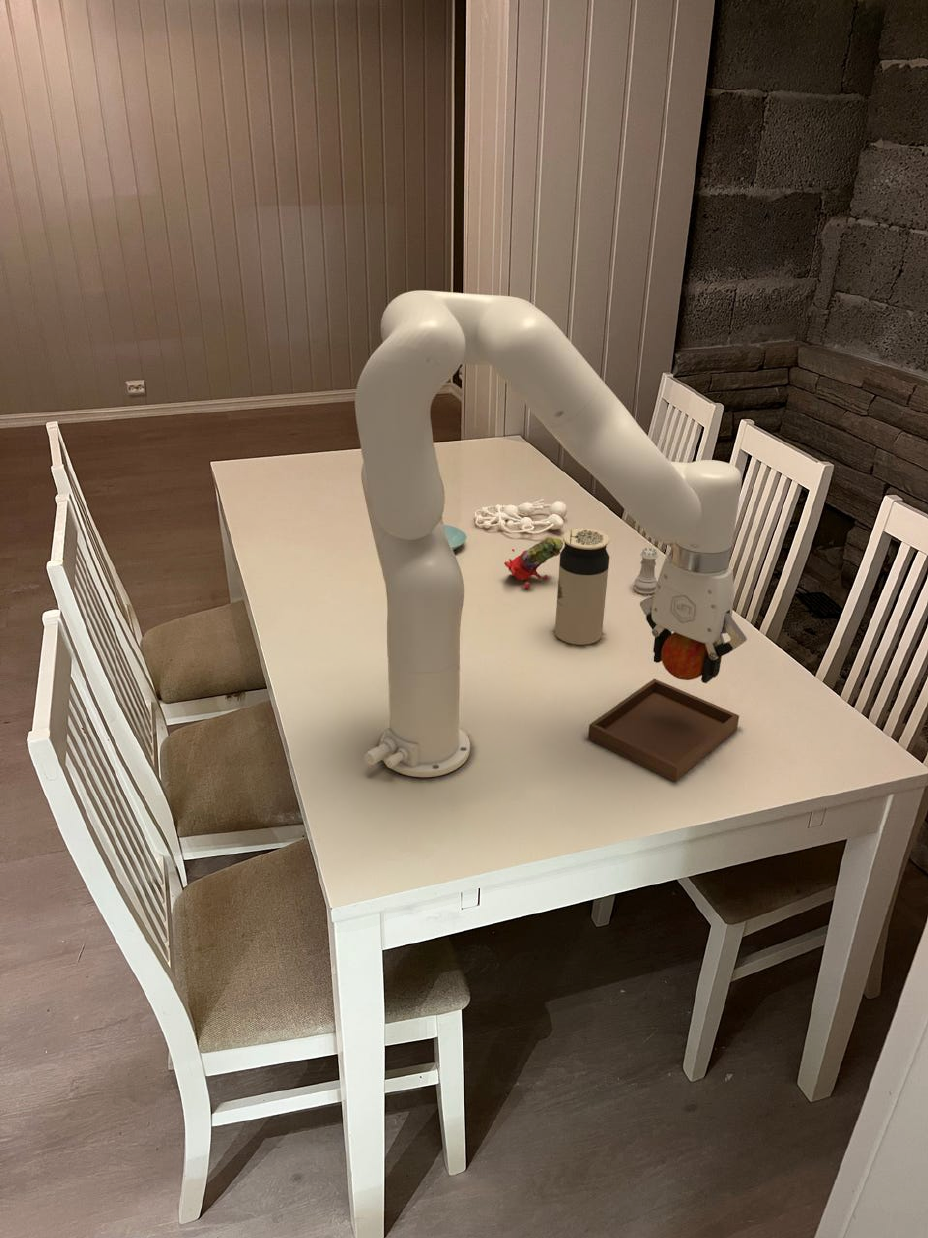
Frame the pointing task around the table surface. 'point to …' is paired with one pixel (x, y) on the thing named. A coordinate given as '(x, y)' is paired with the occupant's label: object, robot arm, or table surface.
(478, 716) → the table surface
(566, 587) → the travel mug
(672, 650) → the fruit
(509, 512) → the tangled rod sculpture
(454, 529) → the saucer
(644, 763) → the tray
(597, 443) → the robot arm
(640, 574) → the rook chess piece
